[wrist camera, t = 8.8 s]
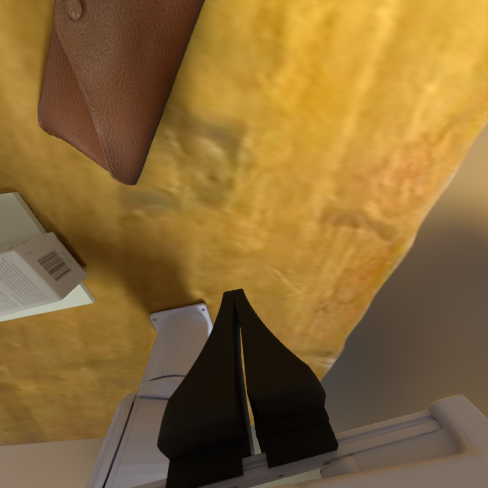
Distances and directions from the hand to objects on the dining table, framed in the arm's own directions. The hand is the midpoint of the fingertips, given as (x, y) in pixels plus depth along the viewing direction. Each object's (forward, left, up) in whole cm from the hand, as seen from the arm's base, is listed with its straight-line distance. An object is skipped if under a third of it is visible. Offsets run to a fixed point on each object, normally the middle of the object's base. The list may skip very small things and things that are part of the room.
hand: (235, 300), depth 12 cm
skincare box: (+2, +17, -8) cm, 19 cm away
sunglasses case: (+17, +5, -11) cm, 21 cm away
